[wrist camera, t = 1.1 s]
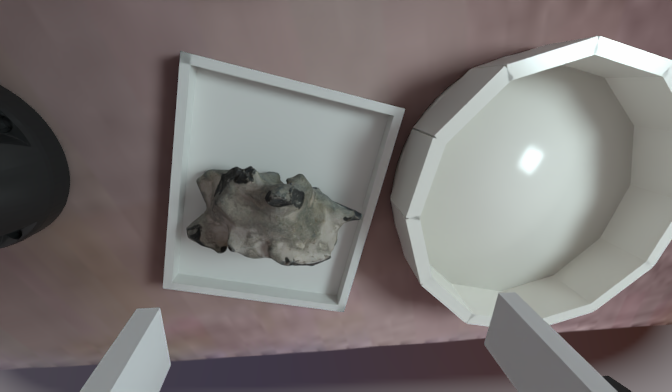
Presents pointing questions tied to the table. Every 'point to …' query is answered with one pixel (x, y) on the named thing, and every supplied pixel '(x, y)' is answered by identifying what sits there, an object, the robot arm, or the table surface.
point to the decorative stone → (268, 217)
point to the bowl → (540, 180)
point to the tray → (273, 156)
